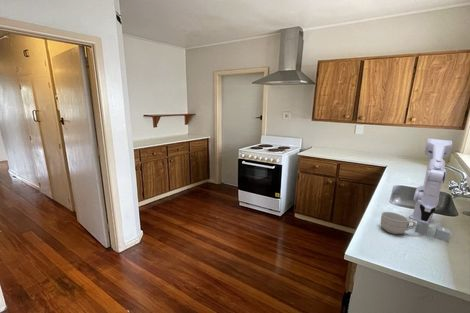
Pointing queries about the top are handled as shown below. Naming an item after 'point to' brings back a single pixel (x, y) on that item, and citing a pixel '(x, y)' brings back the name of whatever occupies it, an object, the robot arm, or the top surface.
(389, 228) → the teacup
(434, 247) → the top surface
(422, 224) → the plain block
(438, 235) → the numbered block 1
